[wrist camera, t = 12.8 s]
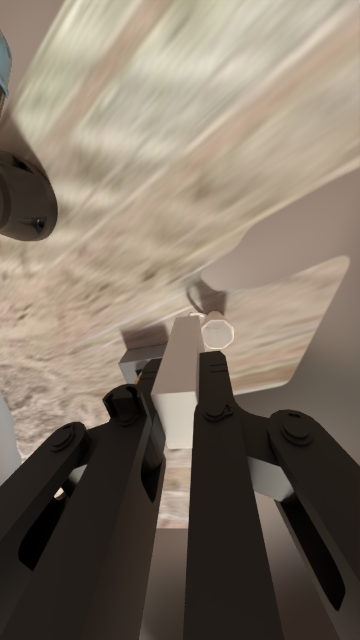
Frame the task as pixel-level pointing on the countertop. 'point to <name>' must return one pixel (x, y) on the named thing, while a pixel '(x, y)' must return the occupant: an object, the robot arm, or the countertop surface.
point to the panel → (139, 360)
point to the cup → (215, 330)
